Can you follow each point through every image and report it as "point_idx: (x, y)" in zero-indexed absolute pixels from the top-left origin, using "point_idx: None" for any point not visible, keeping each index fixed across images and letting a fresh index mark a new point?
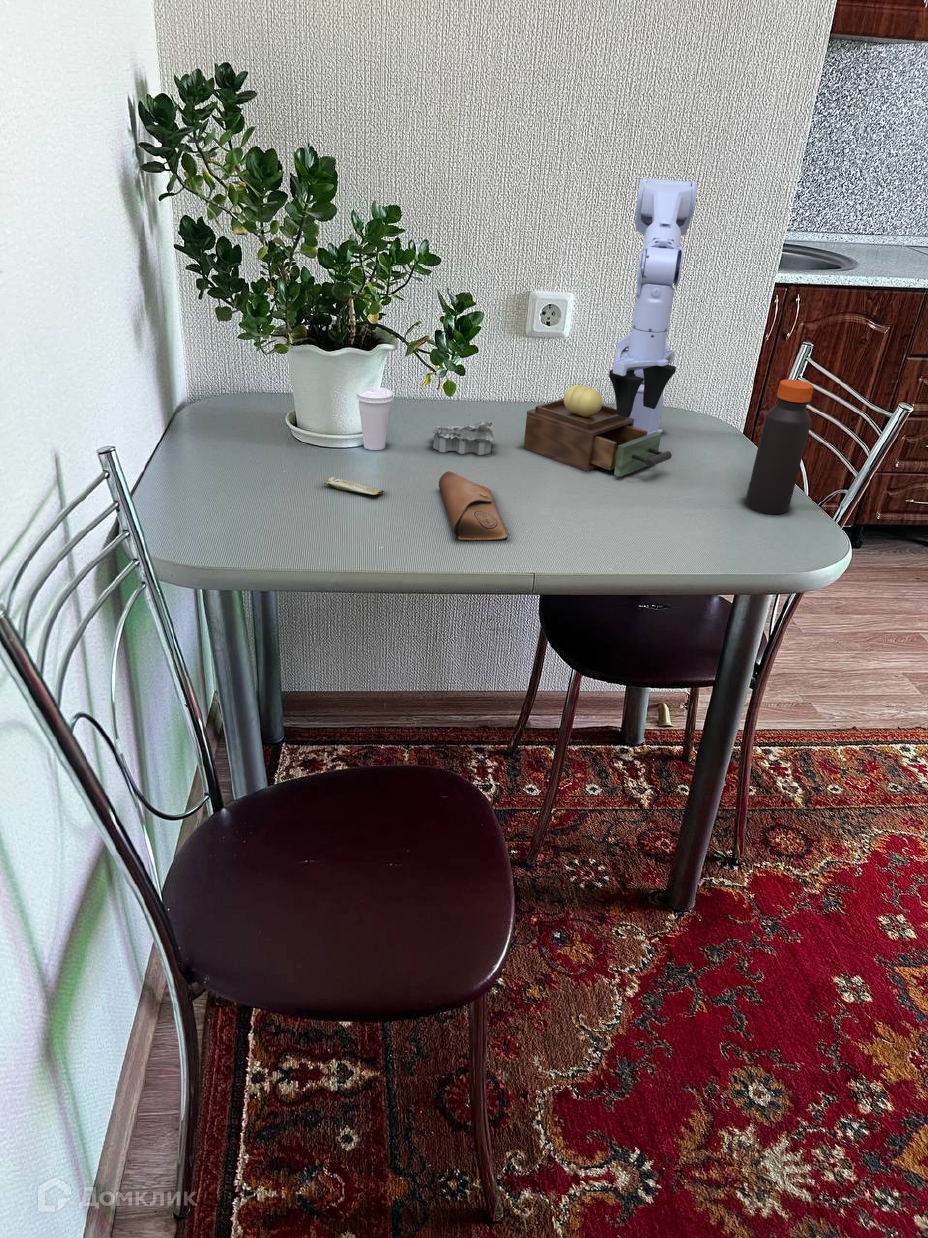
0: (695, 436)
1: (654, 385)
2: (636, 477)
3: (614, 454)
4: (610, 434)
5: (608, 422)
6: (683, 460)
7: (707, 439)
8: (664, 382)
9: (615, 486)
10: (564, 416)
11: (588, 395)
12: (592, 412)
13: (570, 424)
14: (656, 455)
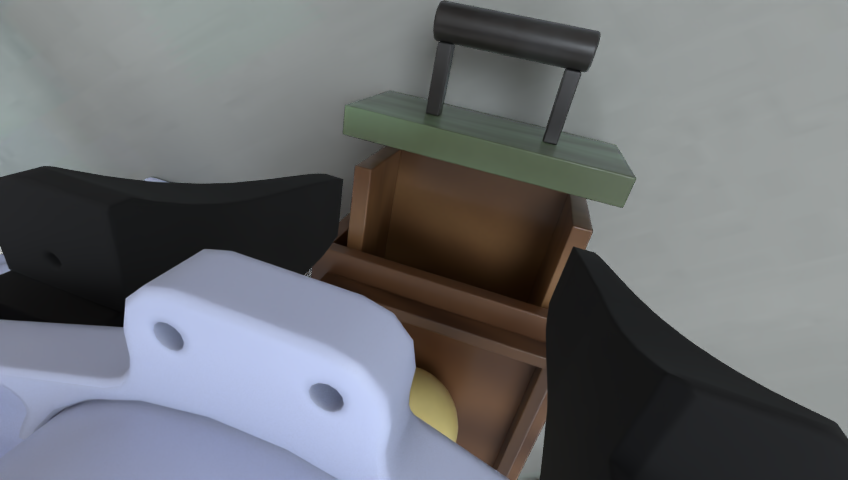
0: (92, 87)
1: (259, 251)
2: (532, 105)
3: (575, 207)
4: None
5: (437, 310)
6: (277, 32)
7: (78, 45)
8: (219, 197)
9: (667, 134)
10: (520, 445)
11: None
12: (439, 383)
13: (541, 409)
14: (522, 46)
